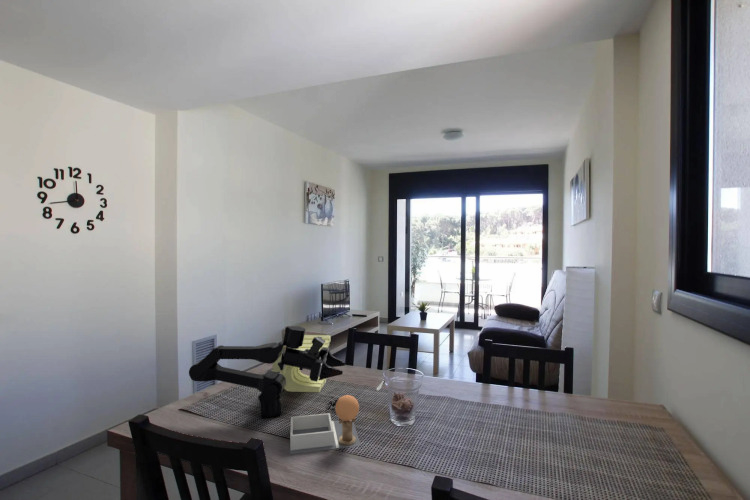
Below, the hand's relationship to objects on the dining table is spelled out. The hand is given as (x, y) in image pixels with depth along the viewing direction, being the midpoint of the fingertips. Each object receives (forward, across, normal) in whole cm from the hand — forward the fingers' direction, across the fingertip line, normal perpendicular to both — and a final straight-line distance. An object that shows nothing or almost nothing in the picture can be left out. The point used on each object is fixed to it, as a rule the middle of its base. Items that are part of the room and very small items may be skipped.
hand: (343, 368), depth 127 cm
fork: (+17, +31, +14) cm, 38 cm away
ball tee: (+6, -18, +15) cm, 24 cm away
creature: (0, +5, +17) cm, 18 cm away
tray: (-5, -16, +17) cm, 24 cm away
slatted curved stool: (-15, +28, +20) cm, 38 cm away
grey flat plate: (-1, -14, +17) cm, 22 cm away
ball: (+4, -18, +5) cm, 19 cm away
